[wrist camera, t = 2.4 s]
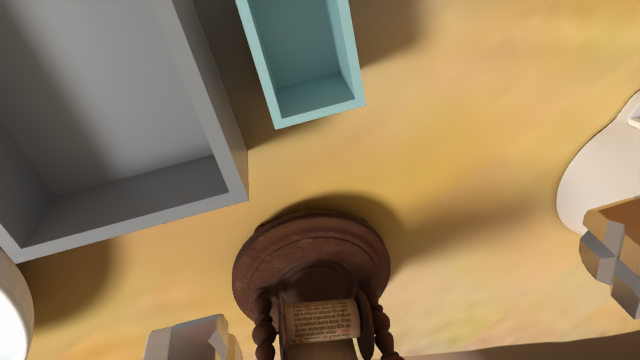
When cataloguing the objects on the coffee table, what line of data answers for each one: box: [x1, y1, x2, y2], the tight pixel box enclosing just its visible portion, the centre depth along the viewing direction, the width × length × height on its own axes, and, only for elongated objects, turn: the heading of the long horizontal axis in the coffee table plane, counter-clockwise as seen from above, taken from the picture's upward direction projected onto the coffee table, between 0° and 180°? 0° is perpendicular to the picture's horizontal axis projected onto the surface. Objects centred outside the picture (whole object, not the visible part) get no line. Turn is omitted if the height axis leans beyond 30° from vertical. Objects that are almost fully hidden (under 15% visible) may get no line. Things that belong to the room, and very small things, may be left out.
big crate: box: [0, 0, 249, 264], centre depth 26 cm, size 16×21×7 cm
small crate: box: [235, 0, 366, 130], centre depth 28 cm, size 6×9×6 cm, turn 12°
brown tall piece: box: [232, 210, 404, 360], centre depth 34 cm, size 15×15×20 cm
